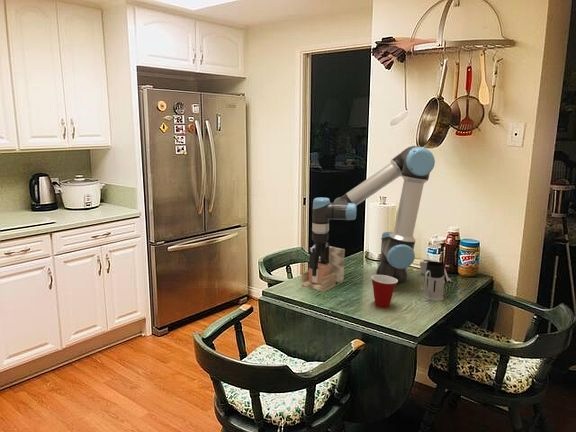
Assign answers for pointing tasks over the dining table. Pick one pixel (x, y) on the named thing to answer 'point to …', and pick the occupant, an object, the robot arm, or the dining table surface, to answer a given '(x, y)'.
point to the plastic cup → (383, 289)
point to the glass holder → (434, 281)
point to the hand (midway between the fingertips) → (318, 280)
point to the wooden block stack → (334, 271)
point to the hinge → (424, 265)
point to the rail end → (320, 272)
